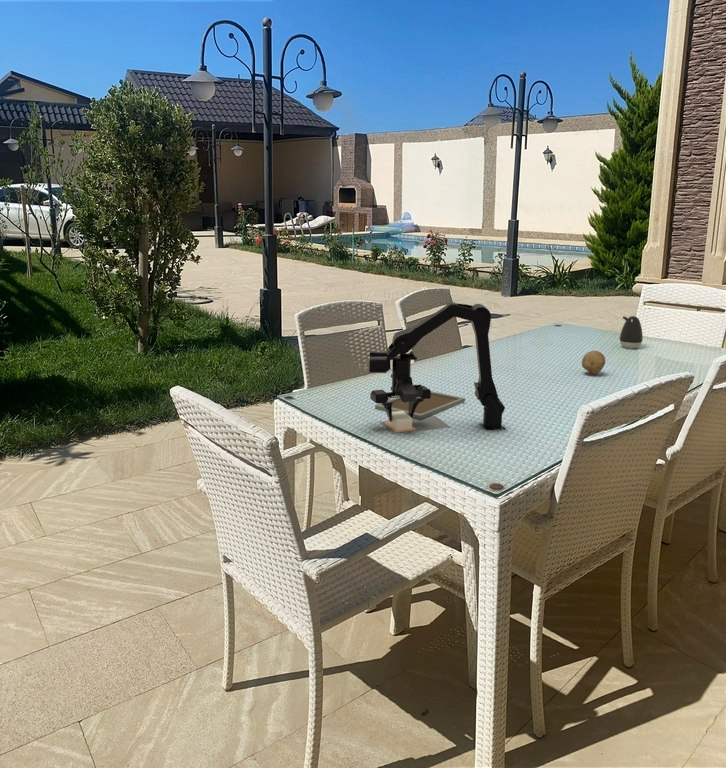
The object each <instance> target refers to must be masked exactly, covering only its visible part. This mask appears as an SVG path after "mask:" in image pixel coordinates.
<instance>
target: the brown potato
mask: <svg viewBox="0 0 726 768" xmlns="http://www.w3.org/2000/svg"><path fill="white" fill-rule="evenodd" d="M605 364H606V357H605V355H604V354H603V353H602V352H601V351H598V350H590V351H588V352H587V353H585V354H584V355H583V357H582V360H581V366H582V368H583V369H584V370H585V371H587V372H589V373H590V374H591V375H597V374H599V373H600V372H601V371H602V370H603V369H604V366H605Z"/></svg>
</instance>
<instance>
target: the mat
mask: <svg viewBox="0 0 726 768" xmlns="http://www.w3.org/2000/svg"><path fill="white" fill-rule="evenodd" d="M379 424H381V426H383V427H384V428H385V429H386V430H387V431H389V433H390V434H391V435H397V434H406V433H413V432H422V431H430V430H439V429H440V430H441V429H447V428H448V429H449V428H451V427H452V426H450V425H449V424H448V423H446V422H445V421H443V420H442V419H440V418H439V417H438V416H436V415H431V416H429V417H426V418H424V419H421V420H419V419H415V418H412V429H406V430H396V429H395V428H394V427H393V426H392V425H390V424H389V423H388V420H385V421H379Z"/></svg>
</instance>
